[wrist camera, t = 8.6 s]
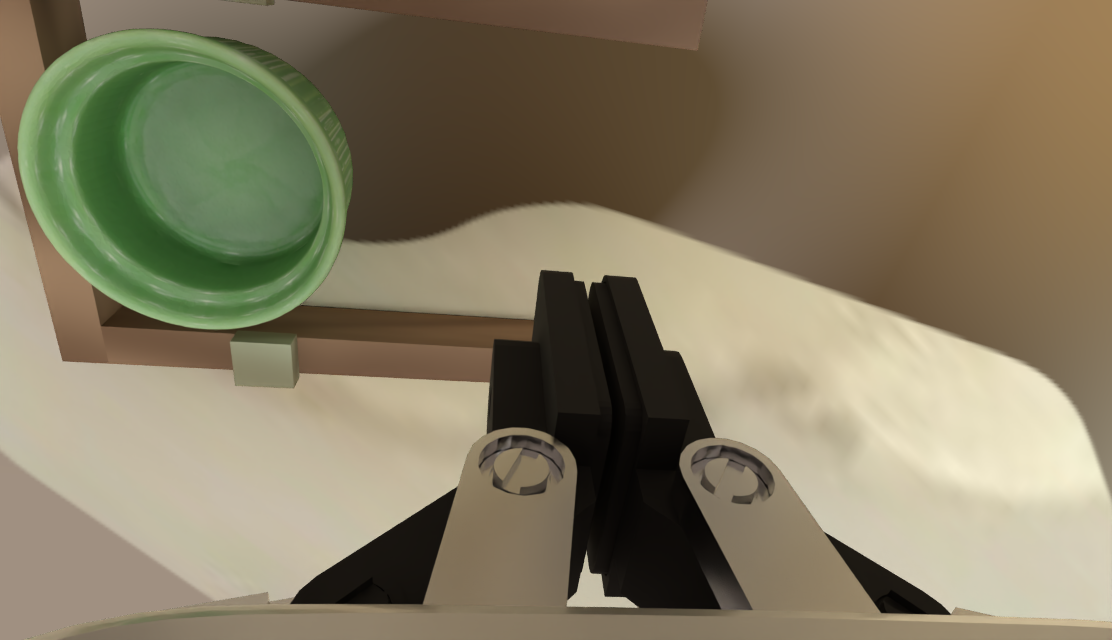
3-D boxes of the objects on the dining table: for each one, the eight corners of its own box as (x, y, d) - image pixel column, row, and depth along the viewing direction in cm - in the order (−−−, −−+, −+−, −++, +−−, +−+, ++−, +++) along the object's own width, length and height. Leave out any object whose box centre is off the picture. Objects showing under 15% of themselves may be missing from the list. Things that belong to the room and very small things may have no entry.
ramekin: (287, -25, 21) (241, -24, 17) (410, 229, 25) (396, 275, 21) (36, 78, 22) (-63, 101, 18) (197, 308, 26) (145, 367, 22)
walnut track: (4, -104, 19) (-83, -117, 16) (687, -11, 22) (717, -8, 19) (100, 331, 26) (50, 377, 23) (618, 359, 28) (633, 404, 25)
